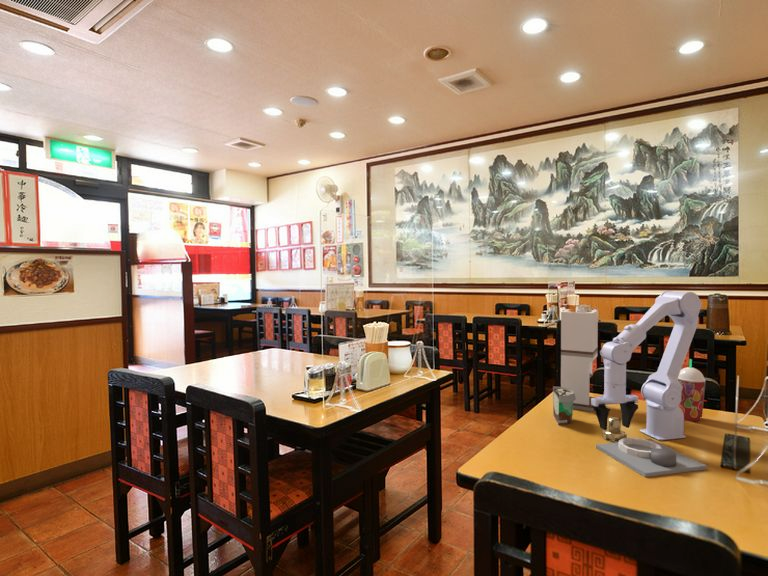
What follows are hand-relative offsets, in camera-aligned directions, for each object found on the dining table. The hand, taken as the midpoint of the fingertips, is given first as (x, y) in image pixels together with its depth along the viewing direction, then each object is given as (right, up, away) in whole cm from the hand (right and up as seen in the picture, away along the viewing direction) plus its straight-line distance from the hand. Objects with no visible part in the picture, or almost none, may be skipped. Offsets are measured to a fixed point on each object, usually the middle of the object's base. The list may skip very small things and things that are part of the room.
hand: (614, 427), depth 134 cm
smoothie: (+33, -2, +16) cm, 37 cm away
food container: (-8, -3, +16) cm, 18 cm away
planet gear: (0, -3, 0) cm, 3 cm away
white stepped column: (+4, -2, +33) cm, 33 cm away
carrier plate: (+2, -4, -14) cm, 14 cm away
